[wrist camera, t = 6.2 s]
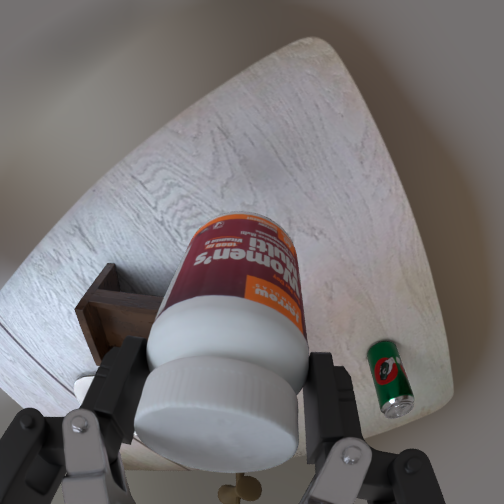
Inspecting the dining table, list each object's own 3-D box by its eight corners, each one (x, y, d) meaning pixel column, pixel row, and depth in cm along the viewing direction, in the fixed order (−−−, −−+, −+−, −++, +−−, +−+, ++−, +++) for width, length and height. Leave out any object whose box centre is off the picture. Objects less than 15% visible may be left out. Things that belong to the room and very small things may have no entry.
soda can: (360, 357, 47) (375, 419, 36) (376, 336, 44) (395, 400, 34) (385, 361, 47) (402, 420, 37) (401, 341, 45) (423, 401, 34)
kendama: (265, 437, 61) (262, 516, 44) (243, 449, 66) (237, 521, 48) (241, 430, 60) (235, 512, 43) (221, 443, 64) (212, 517, 47)
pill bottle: (307, 217, 17) (350, 406, 7) (284, 307, 20) (289, 483, 10) (192, 200, 16) (97, 369, 6) (186, 292, 19) (133, 460, 10)
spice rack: (107, 262, 40) (66, 320, 29) (239, 274, 39) (229, 344, 29) (120, 317, 45) (90, 376, 34) (237, 331, 44) (229, 400, 34)
